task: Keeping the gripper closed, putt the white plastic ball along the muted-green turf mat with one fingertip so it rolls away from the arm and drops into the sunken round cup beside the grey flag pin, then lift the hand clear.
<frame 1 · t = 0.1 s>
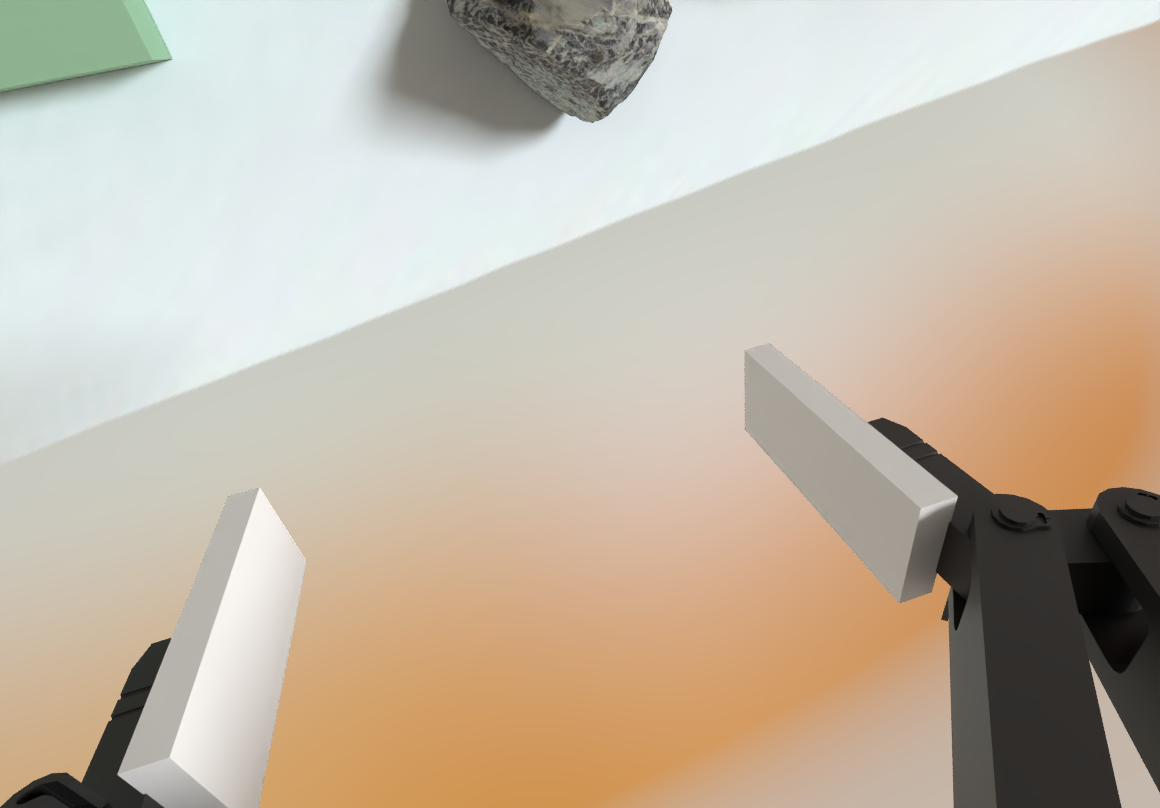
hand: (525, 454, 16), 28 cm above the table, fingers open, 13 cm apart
stone: (553, 27, 35), on the table
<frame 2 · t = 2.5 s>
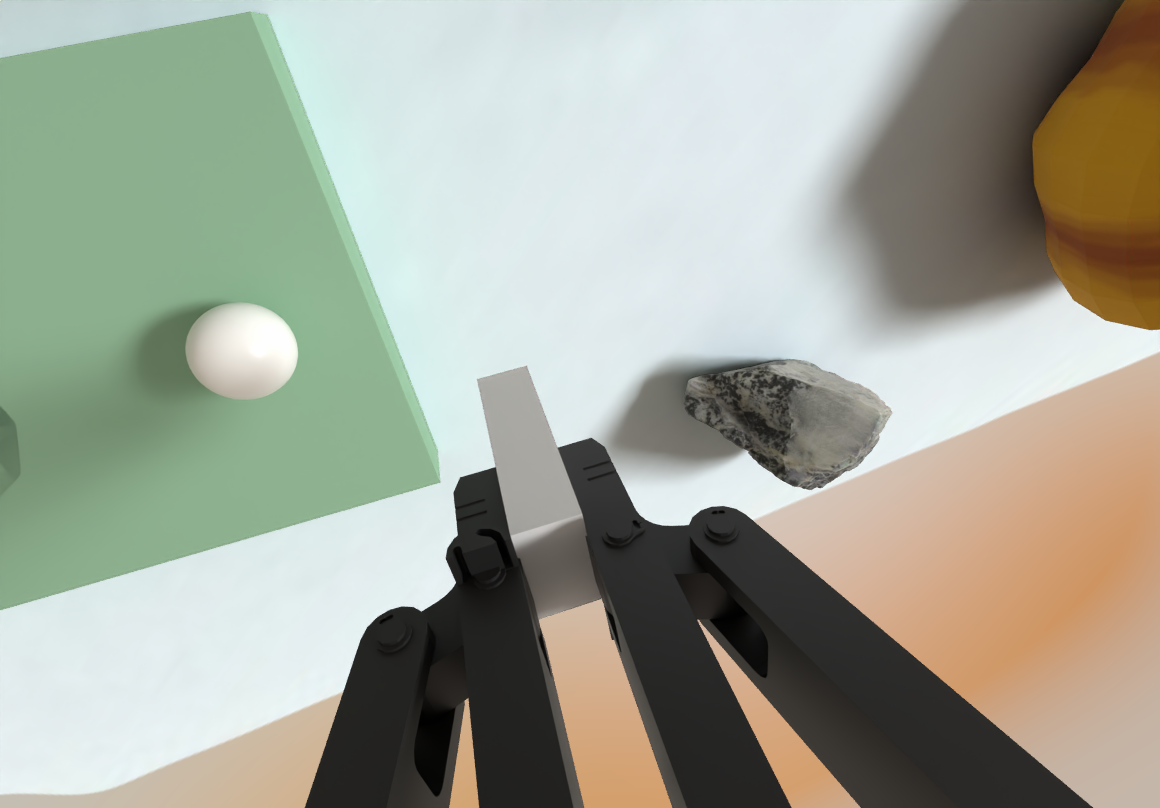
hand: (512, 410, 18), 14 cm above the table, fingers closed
stone: (756, 383, 38), on the table
ball: (244, 351, 24), point 5 cm above the table, touching green
green: (47, 359, 27), on the table
decorative pumpkin: (1128, 109, 35), on the table
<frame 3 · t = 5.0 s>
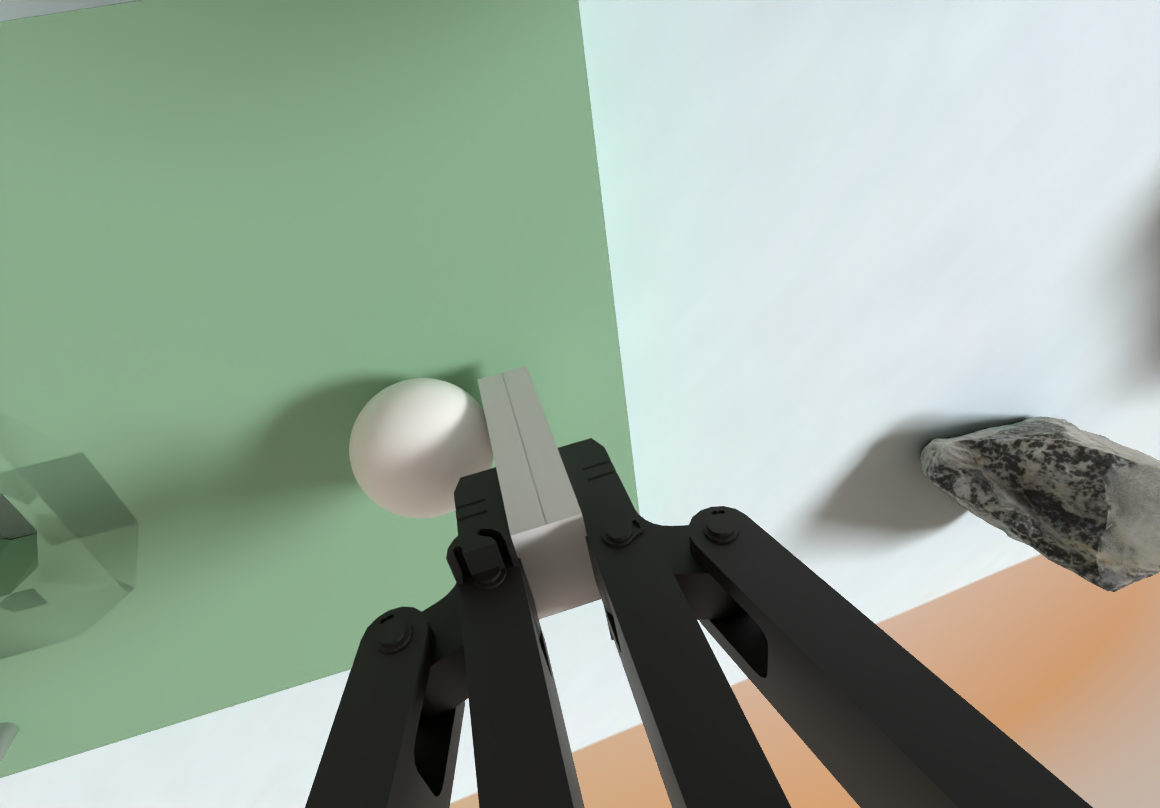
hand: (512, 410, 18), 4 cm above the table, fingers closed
stone: (990, 443, 32), on the table
ball: (424, 447, 17), point 5 cm above the table, tilted 40°, touching green, gripper
green: (172, 426, 20), on the table
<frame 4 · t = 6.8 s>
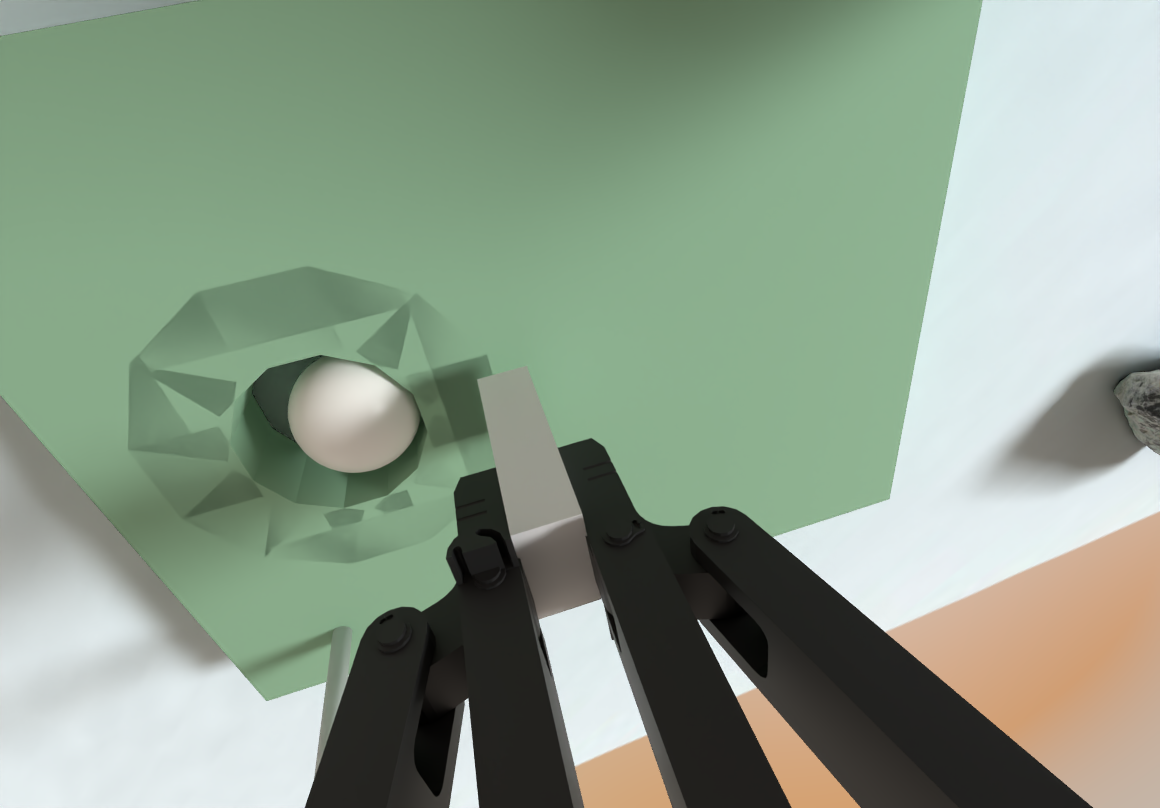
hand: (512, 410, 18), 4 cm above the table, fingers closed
ball: (356, 410, 19), point 2 cm above the table, tilted 91°
green: (507, 346, 21), on the table
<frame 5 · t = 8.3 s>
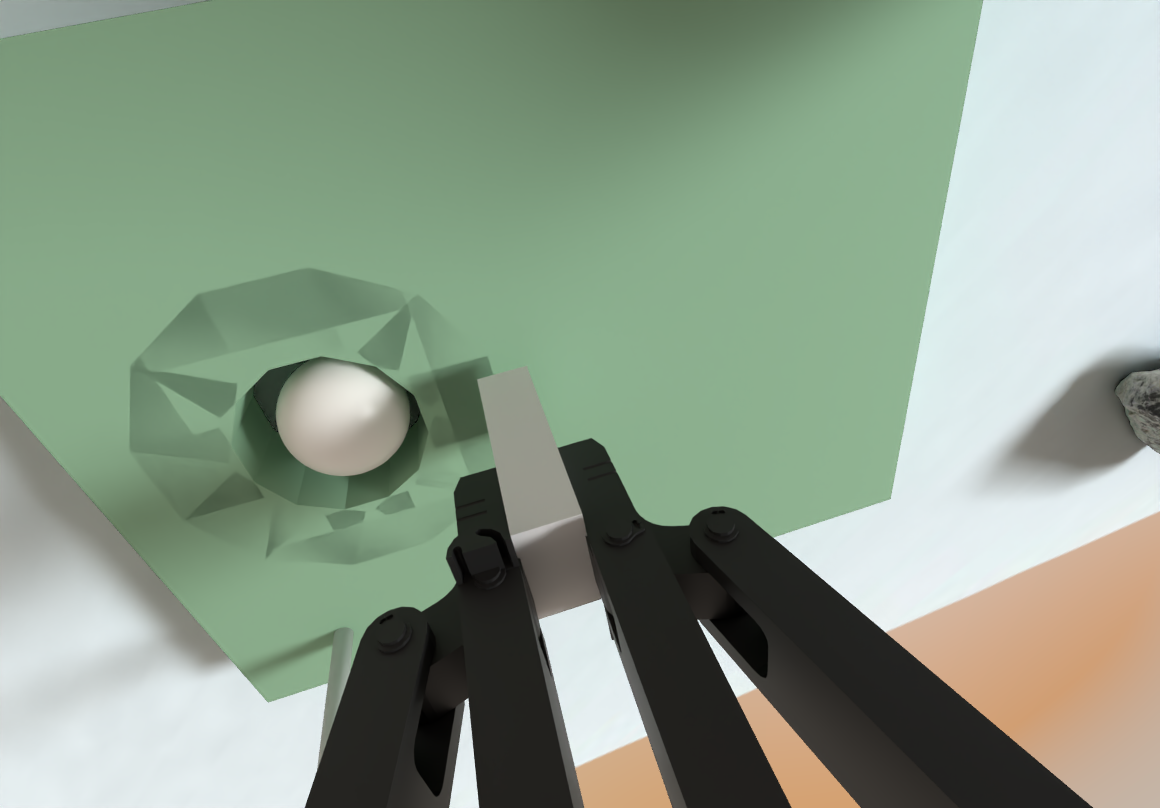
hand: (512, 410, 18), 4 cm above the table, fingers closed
ball: (345, 413, 19), point 2 cm above the table, tilted 101°
green: (507, 347, 21), on the table
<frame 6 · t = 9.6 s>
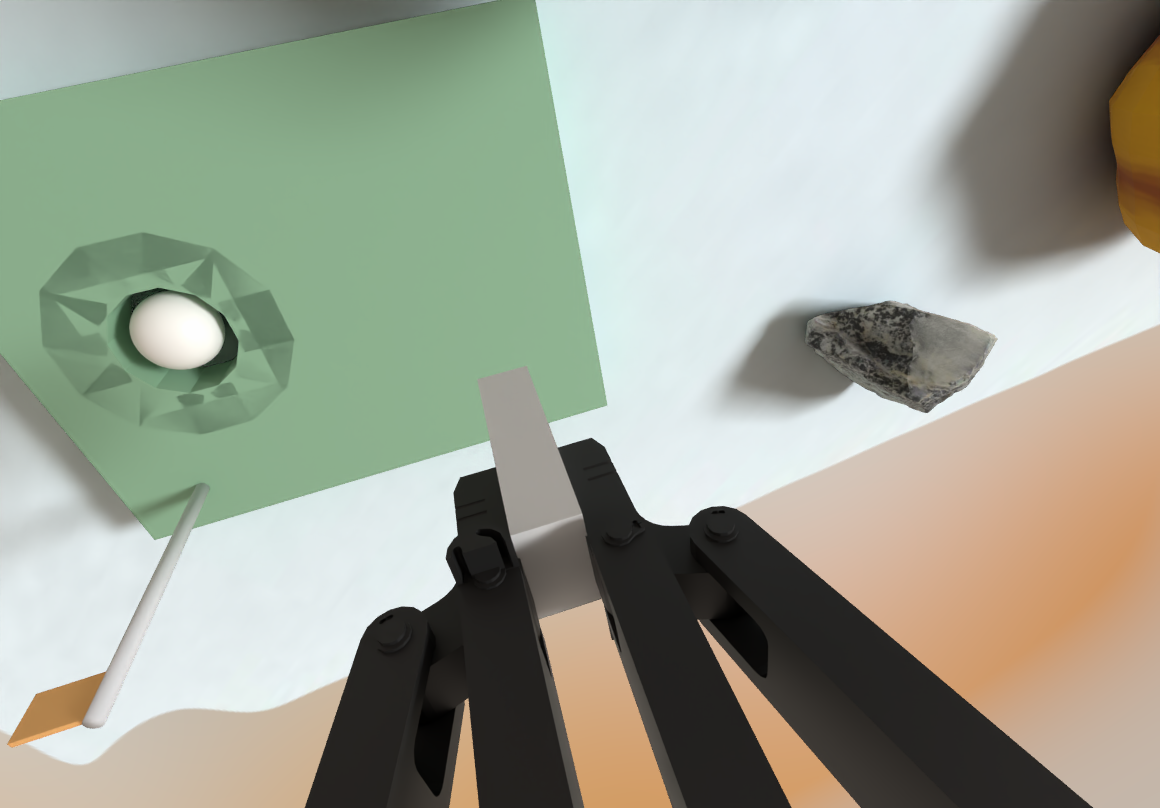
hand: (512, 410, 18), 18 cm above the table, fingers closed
stone: (861, 327, 44), on the table
ball: (179, 330, 29), point 2 cm above the table, tilted 109°
green: (305, 291, 32), on the table
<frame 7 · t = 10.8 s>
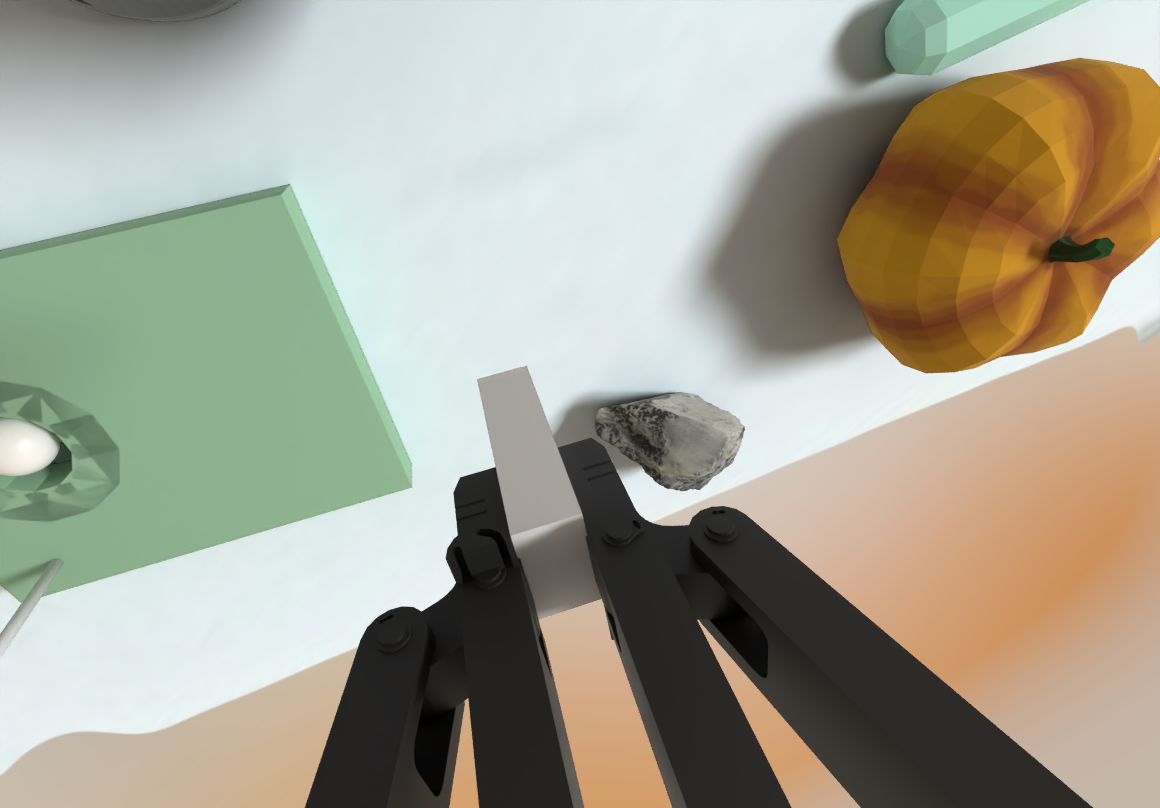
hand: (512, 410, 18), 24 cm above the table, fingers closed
stone: (657, 410, 50), on the table
ball: (17, 443, 36), point 2 cm above the table, tilted 117°
green: (136, 404, 39), on the table
decorative pumpkin: (922, 207, 46), on the table
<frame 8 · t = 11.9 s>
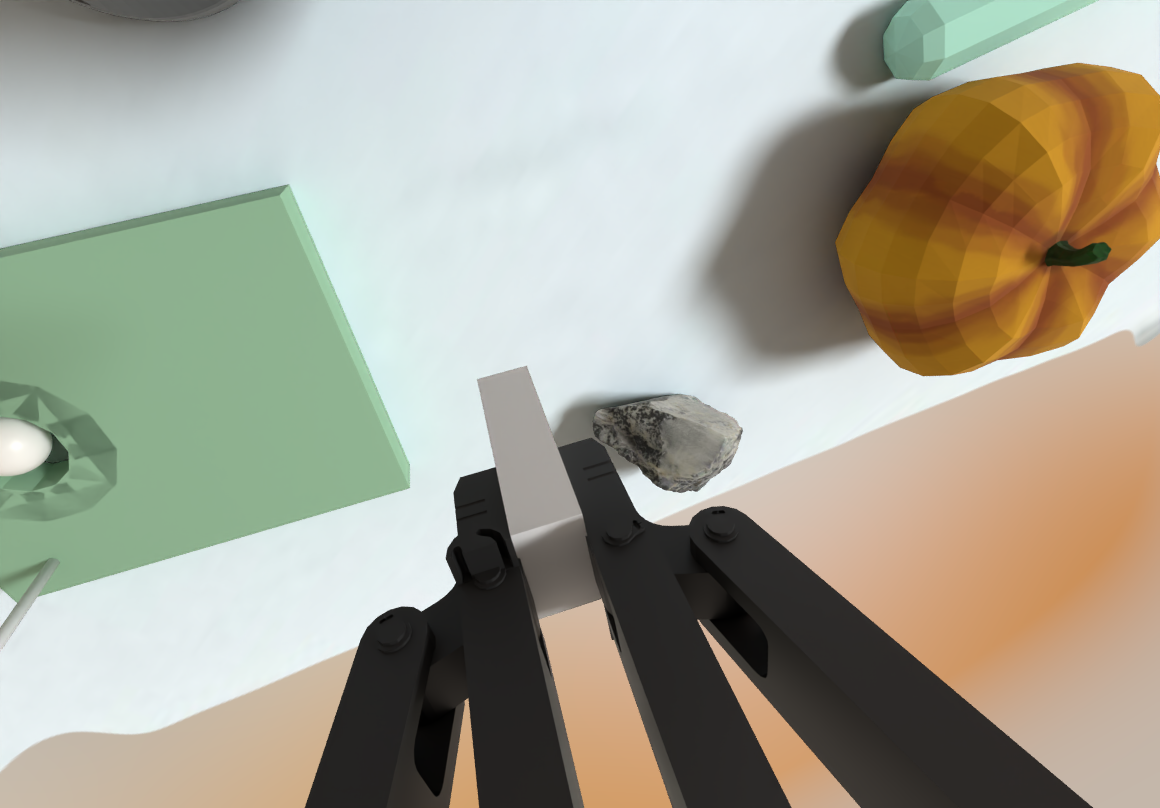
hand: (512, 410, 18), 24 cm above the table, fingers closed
stone: (655, 411, 50), on the table
ball: (9, 444, 36), point 2 cm above the table, tilted 124°
green: (134, 403, 39), on the table
decorative pumpkin: (921, 210, 47), on the table
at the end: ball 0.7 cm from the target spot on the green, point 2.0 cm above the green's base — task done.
